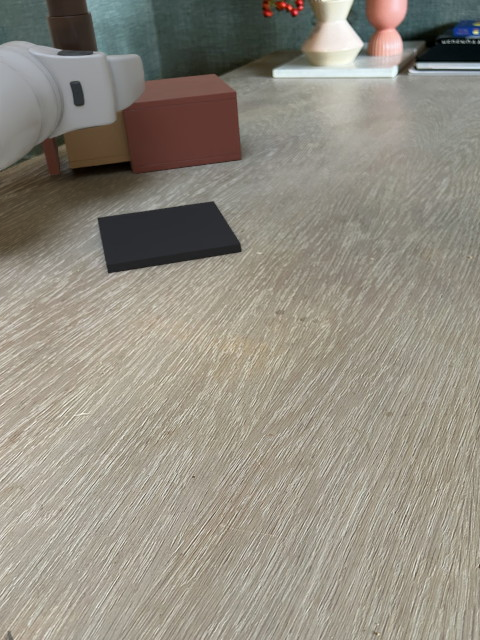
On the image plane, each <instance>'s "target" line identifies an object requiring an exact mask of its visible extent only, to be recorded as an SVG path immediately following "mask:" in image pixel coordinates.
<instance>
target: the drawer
mask: <svg viewBox="0 0 480 640" xmlns="http://www.w3.org/2000/svg"><path fill="white" fill-rule="evenodd" d="M62 136H63V141H64V146H65V150H66V154H67V159H68V164H69V168H70V169H79V168H86V167H87V168H88V167H93V166H103V165H111V164H119V163H125V162H129V161H131V158H130V152H129V146H128V140H127V134H126V128H125V123H124V117H123V111H122V110H121V111H118V112H117V120H116V121H115V122H114V123H112V124H109V125H103V126H99V127H92V128H86V129H81V130H74V131H70V132H67V133H65V134H62ZM39 145H42V149H43V153H44V157H45V161H46V166H47V170H48V174H49V176H55V175H56V176H57V175H60V174H61V169H60V168H61V167H60V154H59V147H58V142H57V137H54V138H47V139H45V140H44V141H43V142H41V143H40V144H39Z"/></svg>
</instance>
